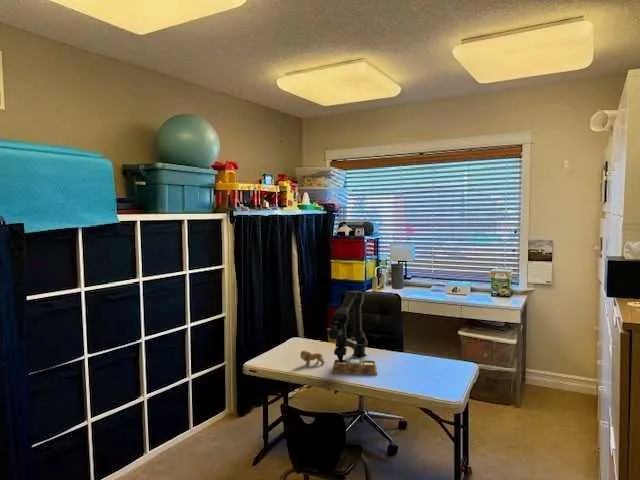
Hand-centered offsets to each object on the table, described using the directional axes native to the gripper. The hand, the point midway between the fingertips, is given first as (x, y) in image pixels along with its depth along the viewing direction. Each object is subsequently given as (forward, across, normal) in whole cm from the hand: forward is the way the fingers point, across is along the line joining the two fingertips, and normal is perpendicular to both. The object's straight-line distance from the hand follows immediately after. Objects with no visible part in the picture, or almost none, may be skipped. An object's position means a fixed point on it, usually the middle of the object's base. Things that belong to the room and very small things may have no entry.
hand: (341, 362), depth 242 cm
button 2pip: (+2, 0, -15) cm, 15 cm away
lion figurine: (+5, +7, +17) cm, 19 cm away
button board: (+4, 0, -8) cm, 9 cm away
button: (+1, 0, -7) cm, 8 cm away
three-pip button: (+3, 0, 0) cm, 3 cm away
